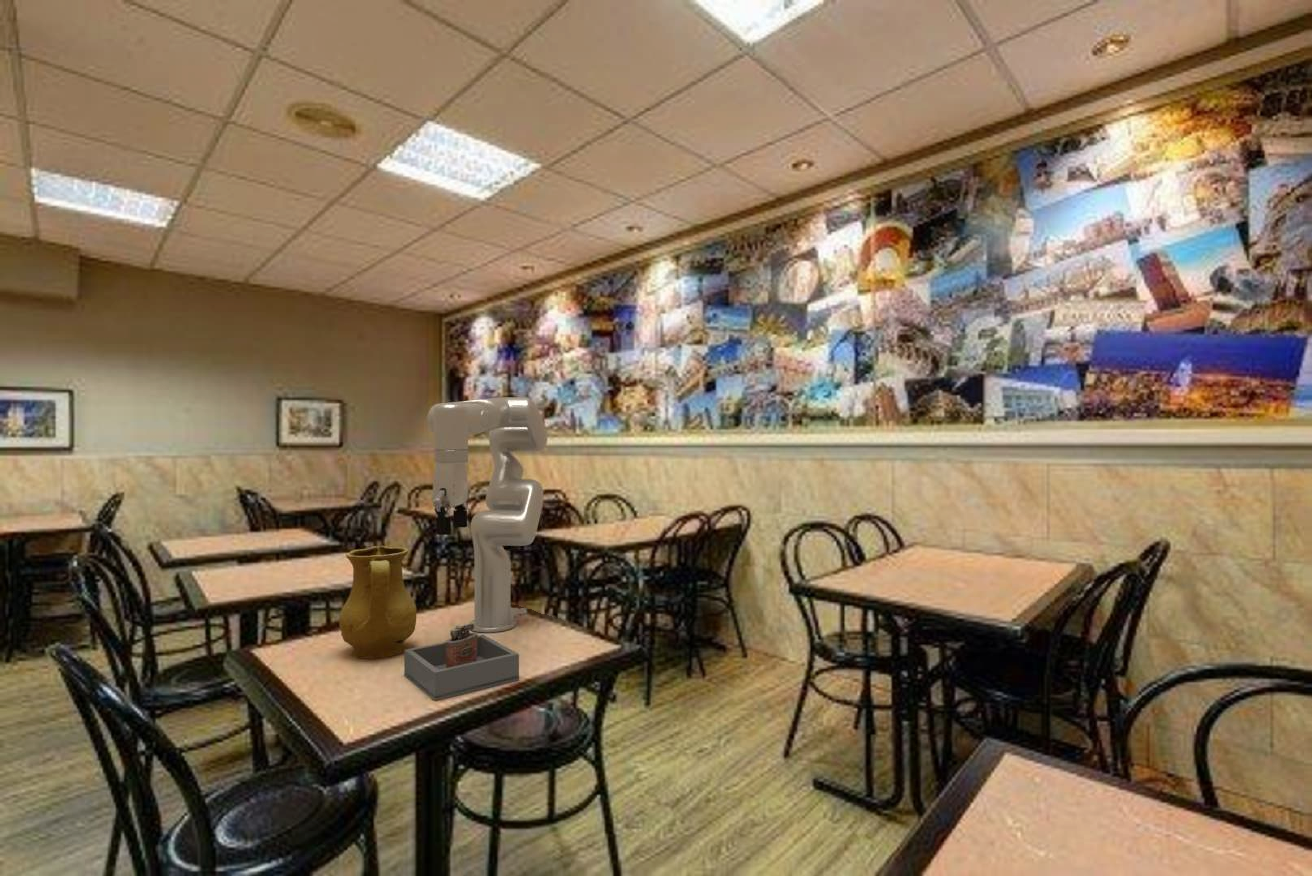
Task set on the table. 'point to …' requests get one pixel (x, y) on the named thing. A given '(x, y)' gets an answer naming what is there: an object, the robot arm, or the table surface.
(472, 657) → the lighter
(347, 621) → the pitcher
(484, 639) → the bin
